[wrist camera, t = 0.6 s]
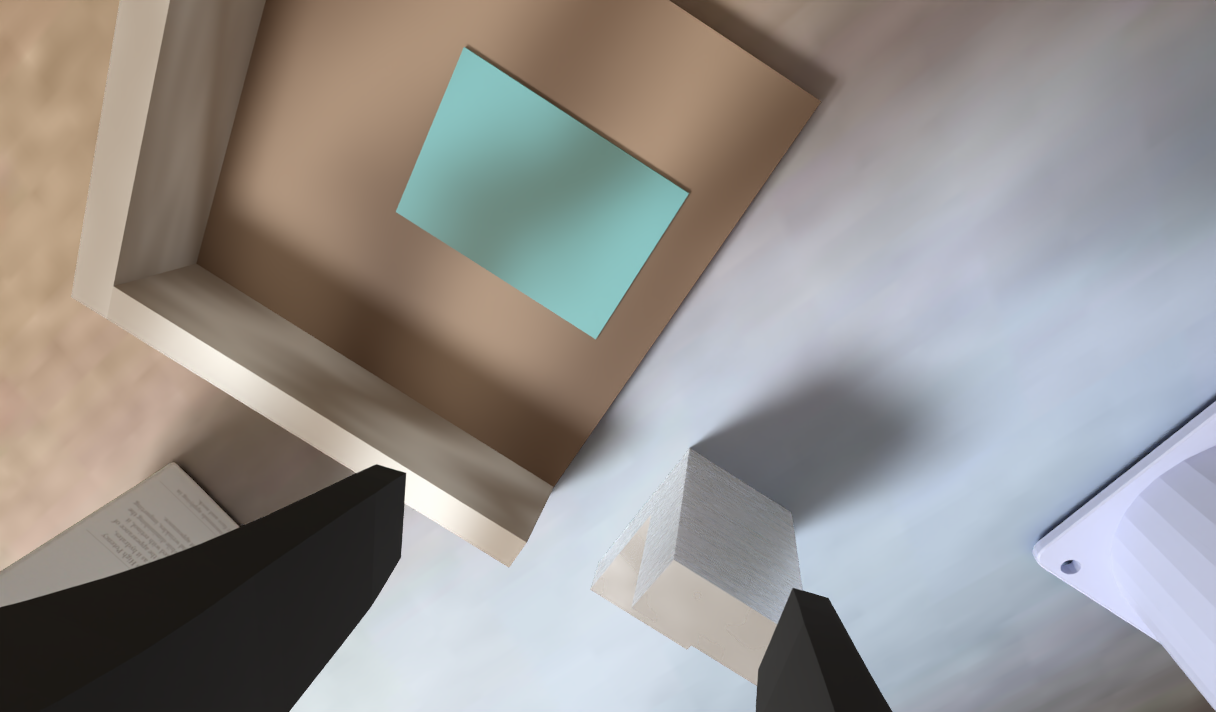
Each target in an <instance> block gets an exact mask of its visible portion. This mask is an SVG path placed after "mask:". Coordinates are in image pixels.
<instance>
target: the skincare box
mask: <svg viewBox="0 0 1216 712" xmlns="http://www.w3.org/2000/svg"><path fill="white" fill-rule="evenodd" d="M237 528H239V526H238V525H237V524H236V523H235V522H234V521H233V520H232V519H231V518H230V517H229V516H228V515H227V514H226V513H225V512H224V511H223V510H222V509H221V508H220V507H219V506H218V505H217V504H216V503H215V502H214V501H213V500H212V499H211V498H210V497H209V496H208V495H207V494H206V493H205V492H204V491H203V490H202V489H201V488H200V487H199V486H198V485H197V483H196V482H195V481H194V480H193V479H192V478H191V477H190V476H189V475H188V474H186V473H185V472H184V471H183V470H182V469H181V468H180V467H179V466H178V465H177V464H176V463H175V462H172V463H169V464H168V465H166V466H165V467H164V468H162V469H161V470H159V471H158V472H156V473H154V474H153V475H151V476H150V477H148V478H147V479H145V480H144V481H142V482H141V483H139V484H137V485H136V486H134V487H133V488H131V489H129V490H128V491H126V492H125V493H123V494H121V495H120V496H118V497H117V498H115V499H114V500H112V501H110V502H109V503H107V504H106V505H104V506H103V507H101V508H99V509H98V510H96V511H95V512H93V513H92V514H90V515H88V516H87V517H85V518H84V519H82V520H81V521H79V522H77V523H76V524H74V525H73V526H71V527H70V528H68V529H66V530H65V531H63V532H62V533H60V534H58V535H57V536H55V537H54V538H52V539H51V540H49V541H47V542H46V543H44V544H43V545H41V546H40V547H38V548H37V549H35V550H33V551H32V552H30V553H29V554H27V555H26V556H24V557H22V558H21V559H19V560H18V561H16V562H14V563H13V564H11V565H10V566H8V567H7V568H5V569H3V570H2V571H0V607H3V606H7V605H11V604H15V603H19V602H22V601H26V600H30V599H33V598H36V597H40V596H43V595H47V594H50V593H54V592H57V591H61V590H64V589H67V588H71V587H74V586H78V585H81V584H85V583H88V582H92V581H95V580H98V579H102V578H105V577H108V576H111V575H115V574H118V573H121V572H124V571H127V570H130V569H132V568H135V567H138V566H141V565H144V564H147V563H150V562H153V561H156V560H159V559H161V558H164V557H167V556H170V555H172V554H175V553H178V552H180V551H183V550H186V549H188V548H191V547H193V546H196V545H199V544H201V543H203V542H206V541H208V540H211V539H213V538H215V537H218V536H220V535H222V534H225V533H227V532H229V531H232V530H234V529H237Z"/></svg>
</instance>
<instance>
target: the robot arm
mask: <svg viewBox="0 0 1216 712" xmlns="http://www.w3.org/2000/svg"><path fill="white" fill-rule="evenodd" d="M405 486H406V473H405V472H401V471H398V470H394V469H391V468H388V467H384V466H381V465H378V464H376V465H373V466H371V467H369V468H366V469H364V470H362V471H360V472H358V473H356V474H354V475H351V476H349V477H347V478H345V479H343V480H341V481H339V482H337V483H335V484H333V485H331V486H329V487H327V488H324V489H322V490H320V491H318V492H316V493H314V494H312V495H310V496H308V497H306V498H303V499H301V500H299V501H297V502H295V503H293V504H291V505H289V506H286V507H284V508H282V509H280V510H278V511H276V512H274V513H271V514H269V515H267V516H265V517H263V518H260V519H258V520H256V521H253V522H251V523H248V524H246V525H244V526H241V527H239V528H237V529H234V530H232V531H229V532H227V533H225V534H222V535H220V536H218V537H215V538H213V539H211V540H208V541H206V542H203V543H201V544H199V545H196V546H193V547H191V548H188V549H186V550H183V551H180V552H178V553H175V554H172V555H170V556H167V557H164V558H161V559H159V560H156V561H153V562H150V563H147V564H144V565H141V566H138V567H135V568H132V569H130V570H127V571H124V572H121V573H118V574H115V575H111V576H108V577H105V578H102V579H98V580H95V581H92V582H88V583H85V584H81V585H78V586H74V587H71V588H67V589H64V590H61V591H57V592H54V593H50V594H47V595H43V596H40V597H36V598H33V599H30V600H26V601H22V602H19V603H15V604H11V605H7V606H3V607H0V712H289V711H290V710H291V709H292V707H293V706H294V705H295V704H296V702H297V701H298V700H299V698H300V697H301V696H302V695H303V693H304V692H305V691H306V690H307V688H308V687H309V686H310V684H311V683H312V682H313V681H314V679H315V678H316V677H317V676H318V674H319V673H320V672H321V670H322V669H323V668H324V667H325V665H326V664H327V663H328V662H329V660H330V659H331V658H332V656H333V655H334V654H335V653H336V651H337V650H338V649H339V648H340V646H341V645H342V644H343V642H344V641H345V640H346V639H347V637H348V636H349V635H350V633H351V632H352V631H353V630H354V628H355V627H356V626H357V624H358V623H359V622H360V620H361V619H362V618H363V617H364V615H365V614H366V613H367V611H368V610H369V609H370V607H371V606H372V604H373V603H374V601H375V600H376V598H377V596H378V595H379V593H380V592H381V590H382V588H383V587H384V585H385V583H386V582H387V580H388V578H389V577H390V575H391V573H392V572H393V570H394V568H395V566H396V565H397V563H398V561H399V560H400V558H401V547H402V531H403V516H404V501H405ZM1032 552H1033V556H1034V558H1035V559H1036V561H1037V562H1038V564H1039V565H1040V566H1041V567H1042V568H1044V569H1046V570H1047V571H1049V572H1050V573H1052V574H1053V575H1055V576H1056V577H1058V578H1060V579H1061V580H1063V581H1064V582H1066V583H1067V584H1069V585H1070V586H1072V587H1074V588H1075V589H1077V590H1078V591H1080V592H1081V593H1083V594H1084V595H1086V596H1088V597H1089V598H1091V599H1092V600H1094V601H1095V602H1097V603H1099V604H1100V605H1102V606H1103V607H1105V608H1106V609H1108V610H1109V611H1111V612H1113V613H1114V614H1116V615H1117V616H1119V617H1120V618H1122V619H1123V620H1125V621H1127V622H1128V623H1130V624H1131V625H1133V626H1134V627H1136V628H1137V629H1139V630H1141V631H1142V632H1144V633H1145V634H1147V635H1148V636H1150V637H1152V638H1153V639H1155V640H1156V641H1158V642H1159V643H1161V644H1162V645H1163V647H1164V648H1165V649H1166V650H1167V652H1168V653H1169V654H1170V655H1171V657H1172V658H1173V659H1174V660H1175V662H1176V663H1177V664H1178V665H1179V666H1180V668H1181V669H1182V670H1183V671H1184V673H1185V674H1186V675H1187V676H1188V678H1189V679H1190V680H1191V681H1192V683H1193V684H1194V685H1195V686H1196V687H1197V689H1198V690H1199V691H1200V692H1201V694H1202V695H1203V696H1204V697H1205V699H1206V700H1207V701H1208V702H1209V704H1210V705H1211V706H1212V707H1213V708H1214V710H1215V711H1216V401H1215V402H1214V403H1213V404H1211V405H1210V406H1209V407H1207V408H1206V409H1205V410H1204V411H1202V412H1201V413H1200V414H1199V415H1197V416H1196V417H1195V418H1194V419H1192V420H1191V421H1190V422H1189V423H1187V424H1186V425H1185V426H1183V427H1182V428H1181V429H1180V430H1178V431H1177V432H1176V433H1175V434H1173V435H1172V436H1171V437H1170V438H1168V439H1167V440H1166V441H1165V442H1163V443H1162V444H1161V445H1159V446H1158V447H1157V448H1156V449H1154V450H1153V451H1152V452H1151V453H1149V454H1148V455H1147V456H1146V457H1144V458H1143V459H1142V460H1141V461H1139V462H1138V463H1137V464H1135V465H1134V466H1133V467H1132V468H1130V469H1129V470H1128V471H1127V472H1125V473H1124V474H1123V475H1122V476H1120V477H1119V478H1118V479H1117V480H1115V481H1114V482H1113V483H1111V484H1110V485H1109V486H1108V487H1106V488H1105V489H1104V490H1103V491H1101V492H1100V493H1099V494H1098V495H1096V496H1095V497H1094V498H1093V499H1091V500H1090V501H1089V502H1087V503H1086V504H1085V505H1084V506H1082V507H1081V508H1080V509H1079V510H1077V511H1076V512H1075V513H1074V514H1072V515H1071V516H1070V517H1069V518H1067V519H1066V520H1065V521H1063V522H1062V523H1061V524H1060V525H1058V526H1057V527H1056V528H1055V529H1053V530H1052V531H1051V532H1050V533H1048V534H1047V535H1046V536H1045V537H1043V538H1042V539H1041V540H1039V541H1038V542H1037V543H1036V544H1035V546H1034V547H1033V551H1032ZM1068 560H1073V561H1072V562H1071V563H1070V564H1068V565H1062V563H1063V562H1065V561H1068ZM756 712H892V710H891V709H890V707H889V705H888V704H887V702H886V700H885V699H884V697H883V695H882V694H881V692H880V690H879V688H878V687H877V685H876V683H875V681H874V680H873V678H872V676H871V674H870V673H869V671H868V669H867V667H866V665H865V664H864V662H863V660H862V658H861V656H860V655H859V653H858V651H857V649H856V647H855V646H854V644H853V642H852V640H851V638H850V636H849V635H848V633H847V631H846V629H845V627H844V625H843V624H842V622H841V620H840V618H839V616H838V614H837V613H836V611H835V609H834V607H833V606H832V604H831V602H830V600H829V598H826V597H823V596H819V595H816V594H813V593H809V592H806V591H803V590H799V589H796V588H792V591H791V593H790V595H789V598H788V600H787V602H786V605H785V607H784V610H783V612H782V614H781V617H780V619H779V621H778V624H777V626H776V628H775V631H774V633H773V636H772V638H771V640H770V643H769V645H768V647H767V650H766V652H765V655H764V657H763V659H762V662H761V664H760V666H759V669H758V681H757V698H756Z"/></svg>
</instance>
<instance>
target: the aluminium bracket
mask: <svg viewBox="0 0 1216 712" xmlns="http://www.w3.org/2000/svg"><path fill="white" fill-rule="evenodd" d="M792 588H796V589H799V590H803V589H802V582H801V575H800V568H799V561H798V554H797V546H796V539H795V532H794V525H793V518H792V512H790V511H789V510H787V509H785V508H784V507H782V506H781V505H779V504H777V503H776V502H774V501H773V500H771V499H770V498H768V497H766V496H765V495H763V494H762V493H760V492H758V491H757V490H755V489H754V488H752V487H751V486H749V485H747V484H746V483H744V482H743V481H741V480H739V479H738V478H736V477H735V476H733V475H732V474H730V473H728V472H727V471H725V470H724V469H722V468H720V467H719V466H717V465H716V464H714V463H713V462H711V461H709V460H708V459H706V458H705V457H703V456H701V455H700V454H698V453H697V452H695V451H694V450H692V449H690V448H689V449H688V450H687V452H686V453H685V454H684V455H683V457H682V458H681V459H680V460H679V462H678V463H677V464H676V466H675V467H674V468H673V469H672V471H671V472H670V473H669V474H668V476H667V477H666V478H665V479H664V481H663V482H662V483H661V484H660V486H659V487H658V488H657V489H656V491H655V492H654V493H653V494H652V496H651V497H650V498H649V499H648V501H647V502H646V503H645V504H644V506H643V507H642V508H641V509H640V511H639V512H638V513H637V514H636V516H635V517H634V518H633V519H632V521H631V522H630V523H629V524H628V526H627V527H626V528H625V529H624V531H623V532H622V533H621V534H620V536H619V537H618V538H617V539H616V541H615V542H614V543H613V545H612V546H611V547H610V548H609V550H608V551H607V552H606V553H605V555H604V556H603V557H602V558H601V560H600V561H599V562H598V565H597V569H596V572H595V575H594V578H593V582H592V585H591V588H590V590H592V591H593V592H595V593H597V594H598V595H600V596H602V597H603V598H605V599H606V600H608V601H610V602H611V603H613V604H614V605H616V606H618V607H619V608H621V609H623V610H624V611H626V612H627V613H629V614H631V615H632V616H634V617H635V618H637V619H639V620H640V621H642V622H644V623H645V624H647V625H648V626H650V627H652V628H653V629H655V630H656V631H658V632H660V633H661V634H663V635H665V636H666V637H668V638H669V639H671V640H673V641H674V642H676V643H677V644H679V645H681V646H682V647H684V648H686V649H688V648H689V647H690V646H691V645H692V646H693V647H695V648H697V649H698V650H700V651H701V652H703V653H705V654H706V655H708V656H710V657H711V658H713V659H714V660H716V661H718V662H719V663H721V664H722V665H724V666H726V667H727V668H729V669H731V670H732V671H734V672H735V673H737V674H739V675H740V676H742V677H743V678H745V679H747V680H748V681H750V682H751V683H753V684H755V685H756V686H757V681H758V669H759V666H760V664H761V662H762V659H763V657H764V655H765V652H766V650H767V647H768V645H769V643H770V640H771V638H772V636H773V633H774V631H775V628H776V626H777V624H778V621H779V619H780V617H781V614H782V612H783V610H784V607H785V605H786V602H787V600H788V598H789V595H790V593H791V591H792Z"/></svg>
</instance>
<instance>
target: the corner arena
mask: <svg viewBox="0 0 1216 712" xmlns="http://www.w3.org/2000/svg"><path fill="white" fill-rule="evenodd" d="M820 102H821V101H820V100H818V99H817V98H815V97H814V96H812V95H811V94H809V93H808V92H806V91H805V90H803V89H802V88H800V87H799V86H797V85H796V84H794V83H793V82H791V81H790V80H788V79H787V78H785V77H784V76H782V75H781V74H779V73H778V72H776V71H775V70H773V69H772V68H770V67H769V66H767V65H766V64H764V63H763V62H761V61H760V60H758V59H757V58H755V57H754V56H752V55H751V54H749V53H748V52H746V51H745V50H743V49H742V48H740V47H739V46H737V45H736V44H734V43H733V42H731V41H730V40H728V39H727V38H725V37H724V36H722V35H721V34H719V33H718V32H716V31H715V30H713V29H712V28H710V27H709V26H707V25H706V24H704V23H703V22H701V21H700V20H698V19H697V18H695V17H694V16H692V15H691V14H689V13H688V12H686V11H685V10H683V9H682V8H680V7H679V6H677V5H676V4H674V3H673V2H671V1H670V0H120V2H119V8H118V14H117V21H116V27H115V33H114V39H113V45H112V51H111V57H110V63H109V69H108V75H107V82H106V88H105V94H104V100H103V106H102V112H101V118H100V124H99V130H98V136H97V143H96V149H95V155H94V161H93V167H92V173H91V179H90V185H89V191H88V197H87V204H86V210H85V216H84V222H83V228H82V234H81V240H80V246H79V252H78V258H77V265H76V271H75V277H74V283H73V289H72V295H71V297H72V298H73V299H75V300H77V301H78V302H80V303H81V304H83V305H85V306H86V307H88V308H89V309H91V310H93V311H94V312H96V313H98V314H99V315H101V316H102V317H104V318H106V319H107V320H109V321H111V322H112V323H114V324H115V325H117V326H119V327H120V328H122V329H123V330H125V331H127V332H128V333H130V334H132V335H133V336H135V337H136V338H138V339H140V340H141V341H143V342H145V343H146V344H148V345H149V346H151V347H153V348H154V349H156V350H158V351H159V352H161V353H162V354H164V355H166V356H167V357H169V358H170V359H172V360H174V361H175V362H177V363H179V364H180V365H182V366H183V367H185V368H187V369H188V370H190V371H192V372H193V373H195V374H196V375H198V376H200V377H201V378H203V379H204V380H206V381H208V382H209V383H211V384H213V385H214V386H216V387H217V388H219V389H221V390H222V391H224V392H226V393H227V394H229V395H230V396H232V397H234V398H235V399H237V400H239V401H240V402H242V403H243V404H245V405H247V406H248V407H250V408H251V409H253V410H255V411H256V412H258V413H260V414H261V415H263V416H264V417H266V418H268V419H269V420H271V421H273V422H274V423H276V424H277V425H279V426H281V427H282V428H284V429H285V430H287V431H289V432H290V433H292V434H294V435H295V436H297V437H298V438H300V439H302V440H303V441H305V442H307V443H308V444H310V445H311V446H313V447H315V448H316V449H318V450H320V451H321V452H323V453H324V454H326V455H328V456H329V457H331V458H332V459H334V460H336V461H337V462H339V463H341V464H342V465H344V466H345V467H347V468H349V469H350V470H352V471H354V472H355V473H358V472H360V471H362V470H364V469H366V468H369V467H371V466H373V465H376V464H378V465H381V466H384V467H388V468H391V469H394V470H398V471H401V472H405V473H406V486H405V501H404V503H405V504H407V505H409V506H410V507H412V508H413V509H415V510H417V511H418V512H420V513H422V514H423V515H425V516H426V517H428V518H430V519H431V520H433V521H435V522H436V523H438V524H439V525H441V526H443V527H444V528H446V529H447V530H449V531H451V532H452V533H454V534H456V535H457V536H459V537H460V538H462V539H464V540H465V541H467V542H469V543H470V544H472V545H473V546H475V547H477V548H478V549H480V550H482V551H483V552H485V553H486V554H488V555H490V556H491V557H493V558H494V559H496V560H498V561H499V562H501V563H503V564H504V565H506V566H507V567H510V565H511V564H512V563H513V561H514V560H515V558H516V557H517V555H518V554H519V553H520V551H521V550H522V548H523V547H524V546H525V544H526V543H527V541H528V539H529V537H530V535H531V533H532V531H533V529H534V526H535V524H536V522H537V520H538V518H539V516H540V514H541V512H542V510H543V508H544V506H545V504H546V502H547V500H548V498H549V496H550V494H551V492H552V490H553V488H554V486H555V485H556V483H557V482H558V480H559V479H560V477H561V476H562V474H563V473H564V472H565V470H566V469H567V467H568V466H569V464H570V463H571V461H572V460H573V459H574V457H575V456H576V454H577V453H578V451H579V450H580V448H581V447H582V446H583V444H584V443H585V441H586V440H587V438H588V437H589V436H590V434H591V433H592V431H593V430H594V428H595V427H596V425H597V424H598V423H599V421H600V420H601V418H602V417H603V415H604V414H605V412H606V411H607V410H608V408H609V407H610V405H611V404H612V402H613V401H614V399H615V398H616V397H617V395H618V394H619V392H620V391H621V389H622V388H623V386H624V385H625V384H626V382H627V381H628V379H629V378H630V376H631V375H632V373H633V372H634V371H635V369H636V368H637V366H638V365H639V363H640V362H641V361H642V359H643V358H644V356H645V355H646V353H647V352H648V350H649V349H650V348H651V346H652V345H653V343H654V342H655V340H656V339H657V337H658V336H659V335H660V333H661V332H662V330H663V329H664V327H665V326H666V324H667V323H668V322H669V320H670V319H671V317H672V316H673V314H674V313H675V311H676V310H677V309H678V307H679V306H680V304H681V303H682V301H683V300H684V298H685V297H686V296H687V294H688V293H689V291H690V290H691V288H692V287H693V285H694V284H695V283H696V281H697V280H698V278H699V277H700V275H701V274H702V273H703V271H704V270H705V268H706V267H707V265H708V264H709V262H710V261H711V260H712V258H713V257H714V255H715V254H716V252H717V251H718V249H719V248H720V247H721V245H722V244H723V242H724V241H725V239H726V238H727V236H728V235H729V234H730V232H731V231H732V229H733V228H734V226H735V225H736V223H737V222H738V221H739V219H740V218H741V216H742V215H743V213H744V212H745V210H746V209H747V208H748V206H749V205H750V203H751V202H752V200H753V199H754V197H755V196H756V195H757V193H758V192H759V190H760V189H761V187H762V186H763V185H764V183H765V182H766V180H767V179H768V177H769V176H770V174H771V173H772V172H773V170H774V169H775V167H776V166H777V164H778V163H779V161H780V160H781V159H782V157H783V156H784V154H785V153H786V151H787V150H788V148H789V147H790V146H791V144H792V143H793V141H794V140H795V138H796V137H797V135H798V134H799V133H800V131H801V130H802V128H803V127H804V125H805V124H806V122H807V121H808V120H809V118H810V117H811V115H812V114H813V112H814V111H815V109H816V108H817V107H818V105H819V104H820Z"/></svg>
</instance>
